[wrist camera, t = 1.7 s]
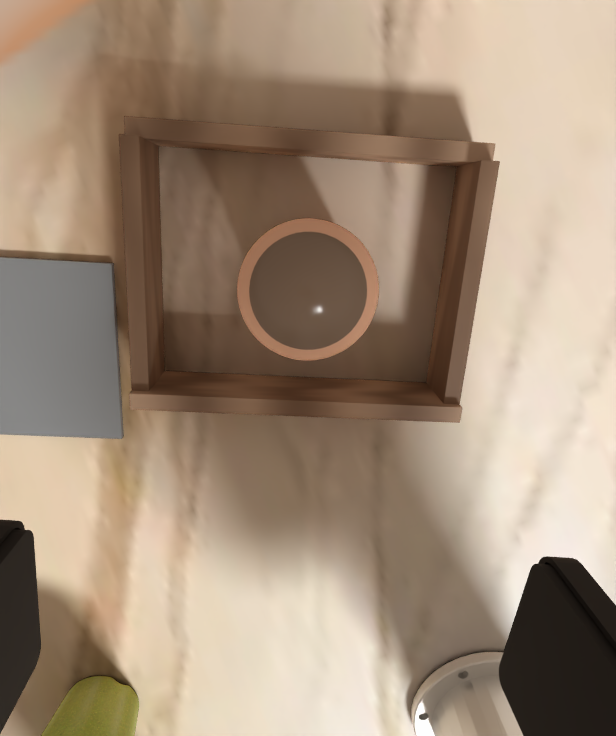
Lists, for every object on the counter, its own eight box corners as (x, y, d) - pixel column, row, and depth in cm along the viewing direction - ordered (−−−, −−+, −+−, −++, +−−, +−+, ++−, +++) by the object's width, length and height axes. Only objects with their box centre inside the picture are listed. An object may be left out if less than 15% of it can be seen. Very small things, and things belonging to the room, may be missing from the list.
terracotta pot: (362, 220, 31) (386, 223, 23) (352, 329, 33) (371, 364, 25) (250, 213, 30) (238, 213, 23) (247, 324, 32) (235, 357, 25)
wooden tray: (475, 150, 30) (507, 139, 25) (438, 396, 34) (459, 422, 30) (140, 125, 28) (114, 110, 24) (150, 384, 33) (130, 409, 29)
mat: (113, 263, 31) (111, 263, 30) (123, 436, 34) (121, 438, 34) (-86, 251, 30) (-90, 252, 30) (-54, 429, 34) (-58, 432, 33)
